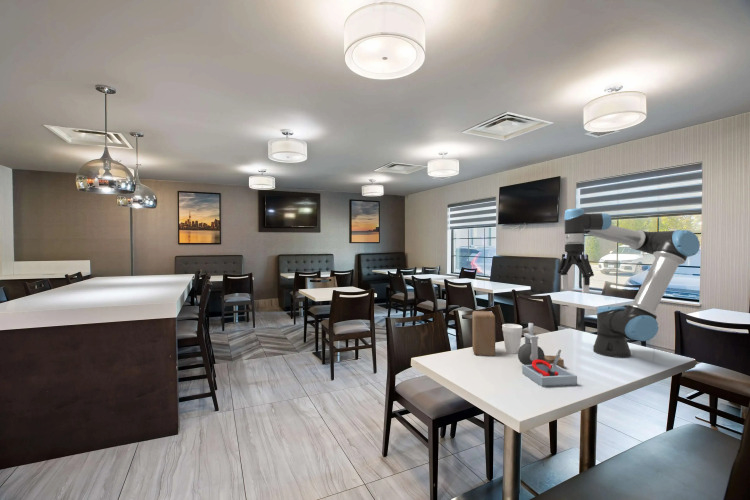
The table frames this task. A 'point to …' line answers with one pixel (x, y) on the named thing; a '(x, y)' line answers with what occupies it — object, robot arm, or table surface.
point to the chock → (551, 359)
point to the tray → (549, 381)
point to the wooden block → (483, 333)
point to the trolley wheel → (530, 348)
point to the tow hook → (551, 367)
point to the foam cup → (512, 337)
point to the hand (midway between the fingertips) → (574, 290)
